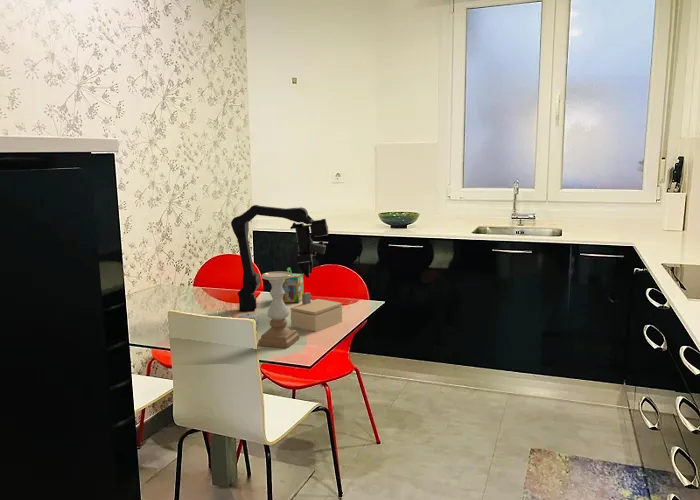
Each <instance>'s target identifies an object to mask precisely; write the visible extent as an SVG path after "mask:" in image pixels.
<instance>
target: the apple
mask: <svg viewBox="0 0 700 500" xmlns="http://www.w3.org/2000/svg"><path fill="white" fill-rule="evenodd" d="M237 318H249V319H254V320H255V321H256V325H257V326H258V325H259V321H260V317H259V315H258V313H256V312H244V313H240V314H239V315H238V317H237Z"/></svg>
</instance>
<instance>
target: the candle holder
mask: <svg viewBox="0 0 700 500" xmlns="http://www.w3.org/2000/svg"><path fill="white" fill-rule="evenodd" d="M292 274H293V273H292ZM292 274H291V273H290V271H289V272H287V271H282V270H281V271H268V272H265V273H262V274H261V278H262V279H263V280H267V281H268V282H269V283H270V285H271V289H270V292H269V295H270V296H271V298H272V301H271V303H270V305H269V307H268V309H267V313H266V314H267V317H268V318H269V319H270V321H269V326H270V327H269V328H268V329H267V330H266V331H265V332H264V333H262V334H261V336H260V338H259V339H258V342H257V343H258V346H259V347H265V348H266V347H267V348H279V349H289V348H290V347H291V346H293V344H296V343H297V342H298V341H299V340H300V333H298V332H297V330H296V329H290V327H287V326H288V321H287V319H286V318H287V317H288V316H289V314H290V313H289V312H290V311H289V310H290V309H289V308H288V307H287V305H286V304H285V302H283V299H282V298H283V296H284V294H285V291H284V290H283V288H282V285H283V283H284V281H285V279H288V278H290V277H291V276H292Z"/></svg>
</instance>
